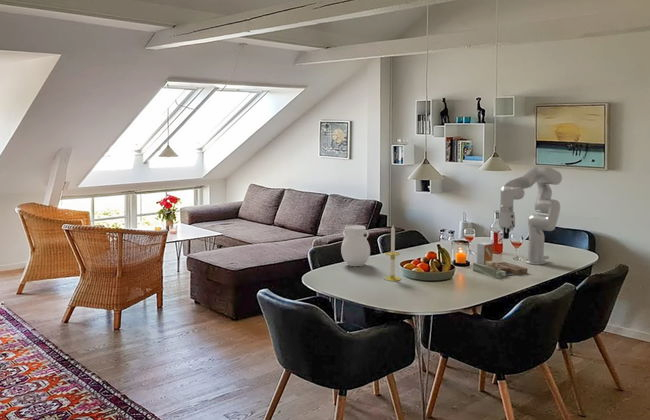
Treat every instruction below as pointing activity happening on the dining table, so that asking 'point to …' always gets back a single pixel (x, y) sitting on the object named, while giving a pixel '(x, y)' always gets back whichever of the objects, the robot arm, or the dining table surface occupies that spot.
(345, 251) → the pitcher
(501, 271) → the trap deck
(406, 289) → the dining table surface
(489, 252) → the small box
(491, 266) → the maple cube
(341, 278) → the dining table surface
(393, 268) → the candle
